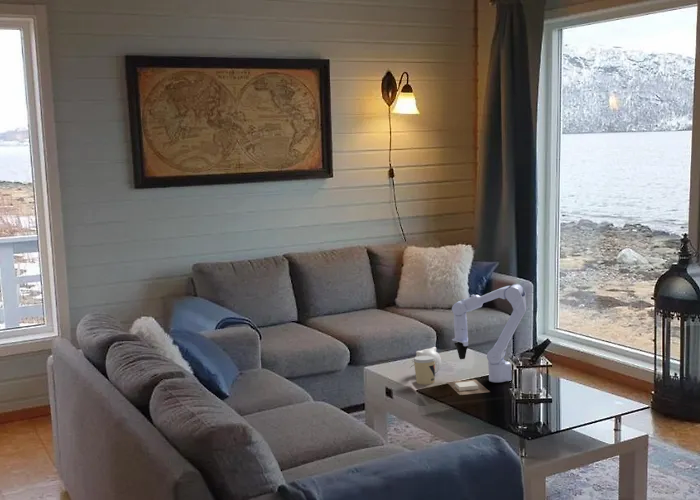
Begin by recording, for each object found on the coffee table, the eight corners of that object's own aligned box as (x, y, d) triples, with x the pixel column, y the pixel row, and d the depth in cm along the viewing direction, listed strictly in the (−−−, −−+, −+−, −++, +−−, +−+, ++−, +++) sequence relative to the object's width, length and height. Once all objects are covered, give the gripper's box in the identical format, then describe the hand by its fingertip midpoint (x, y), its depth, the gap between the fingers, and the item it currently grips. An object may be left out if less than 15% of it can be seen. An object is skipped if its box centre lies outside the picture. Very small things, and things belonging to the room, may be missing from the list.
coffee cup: (435, 387, 341) (434, 360, 340) (414, 387, 343) (412, 360, 341) (437, 381, 350) (435, 354, 349) (415, 381, 352) (414, 355, 351)
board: (475, 382, 345) (475, 379, 345) (490, 394, 326) (490, 391, 326) (446, 385, 344) (446, 382, 344) (459, 397, 324) (459, 395, 324)
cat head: (426, 381, 351) (425, 354, 350) (407, 376, 362) (405, 350, 361) (450, 374, 360) (449, 348, 359) (431, 369, 371) (430, 344, 369)
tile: (473, 381, 337) (478, 385, 330) (473, 385, 337) (478, 389, 330) (455, 382, 336) (459, 387, 329) (455, 386, 336) (459, 391, 329)
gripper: (447, 326, 353) (449, 355, 354) (456, 332, 339) (458, 363, 340) (462, 324, 354) (464, 354, 355) (472, 331, 340) (473, 362, 341)
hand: (462, 358), depth 348 cm, fingers closed
